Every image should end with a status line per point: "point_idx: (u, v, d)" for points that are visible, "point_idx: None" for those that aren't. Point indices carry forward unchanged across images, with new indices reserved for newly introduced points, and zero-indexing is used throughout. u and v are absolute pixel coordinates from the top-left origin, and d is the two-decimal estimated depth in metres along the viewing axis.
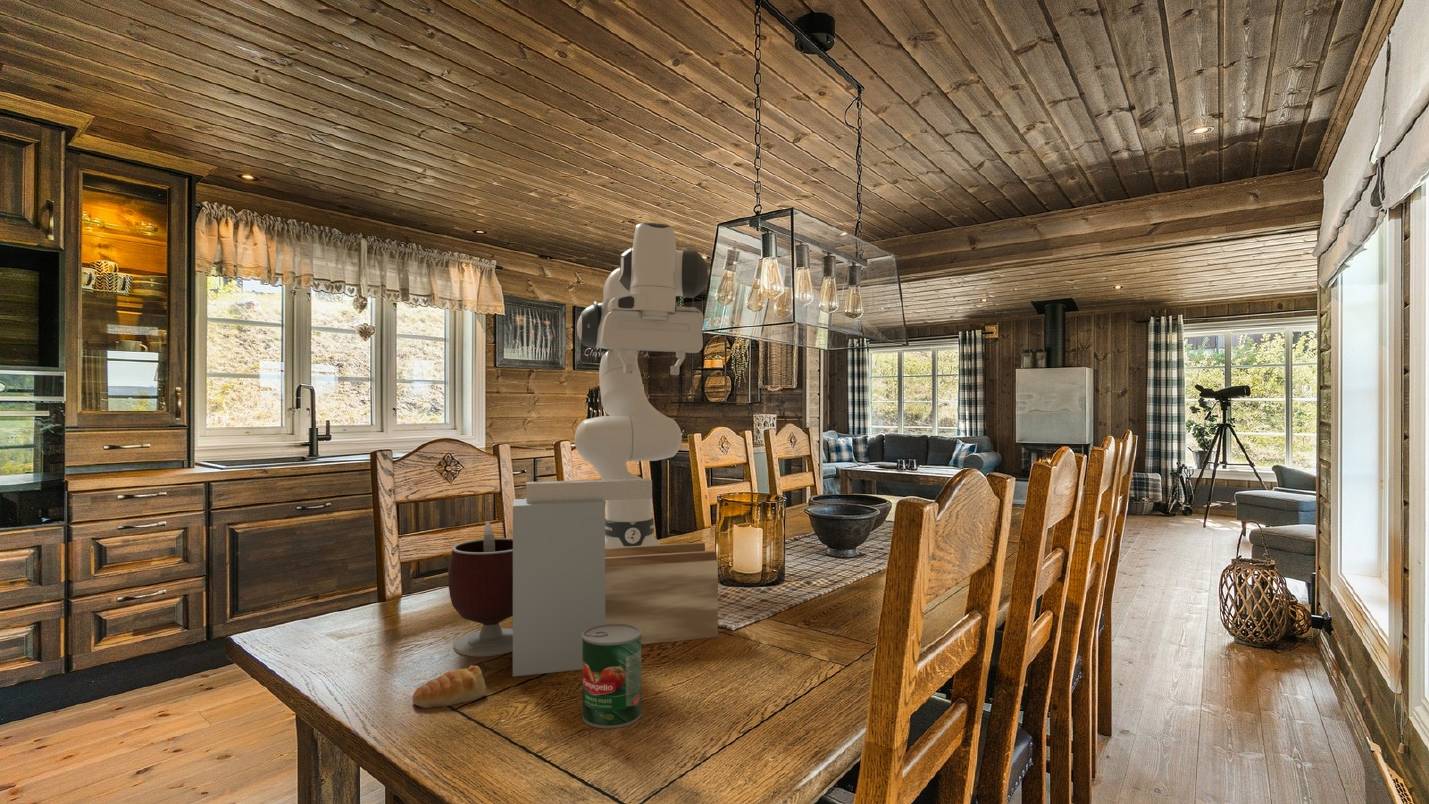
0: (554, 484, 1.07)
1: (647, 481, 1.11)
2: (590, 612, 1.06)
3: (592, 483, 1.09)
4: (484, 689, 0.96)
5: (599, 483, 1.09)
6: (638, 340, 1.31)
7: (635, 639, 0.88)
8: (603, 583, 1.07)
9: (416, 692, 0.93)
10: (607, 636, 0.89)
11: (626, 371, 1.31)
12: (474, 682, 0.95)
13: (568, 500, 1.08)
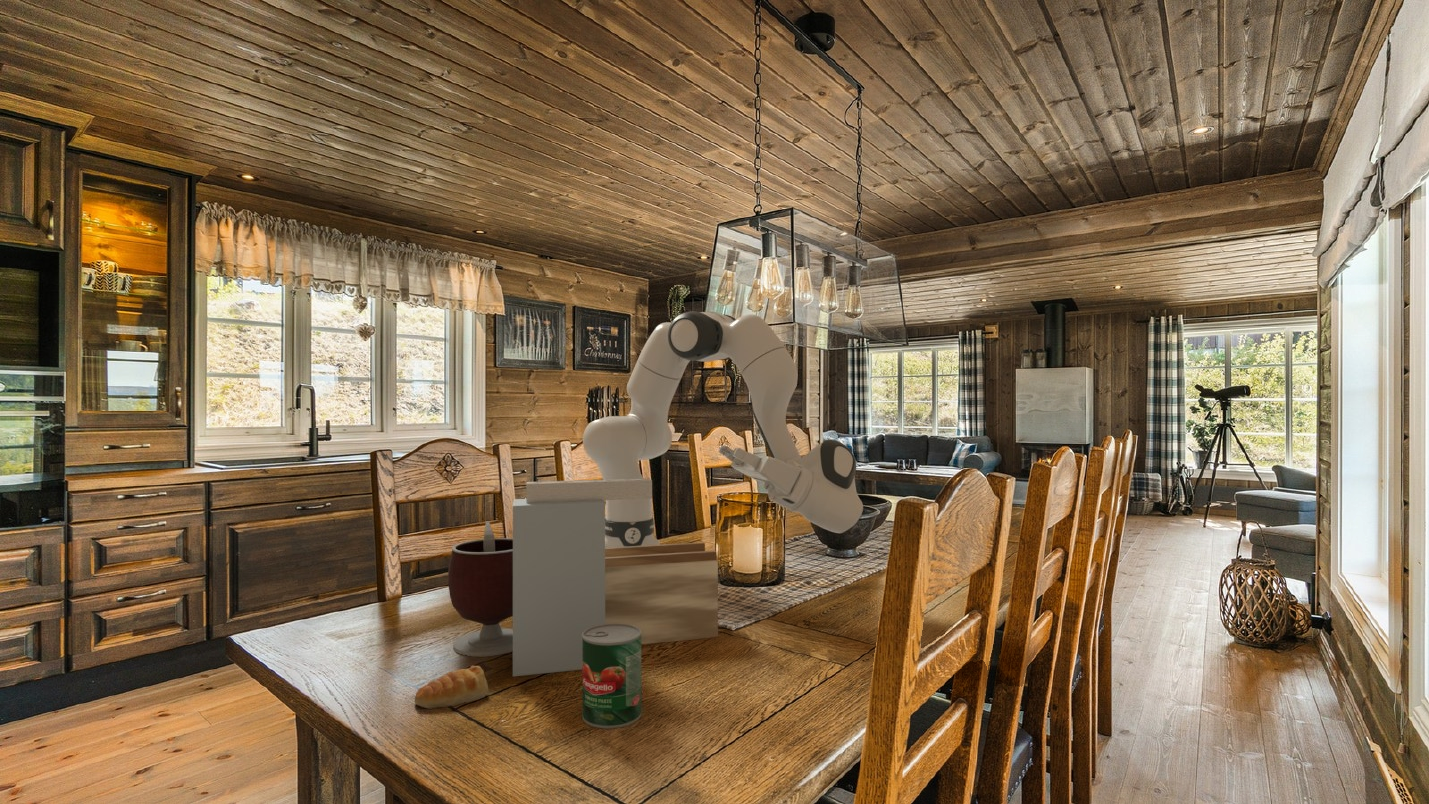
0: (554, 484, 1.07)
1: (647, 481, 1.11)
2: (590, 612, 1.06)
3: (592, 483, 1.09)
4: (486, 689, 0.96)
5: (599, 483, 1.09)
6: (756, 475, 1.26)
7: (635, 639, 0.88)
8: (603, 583, 1.07)
9: (418, 692, 0.93)
10: (607, 636, 0.89)
11: (734, 456, 1.23)
12: (476, 682, 0.95)
13: (568, 500, 1.08)
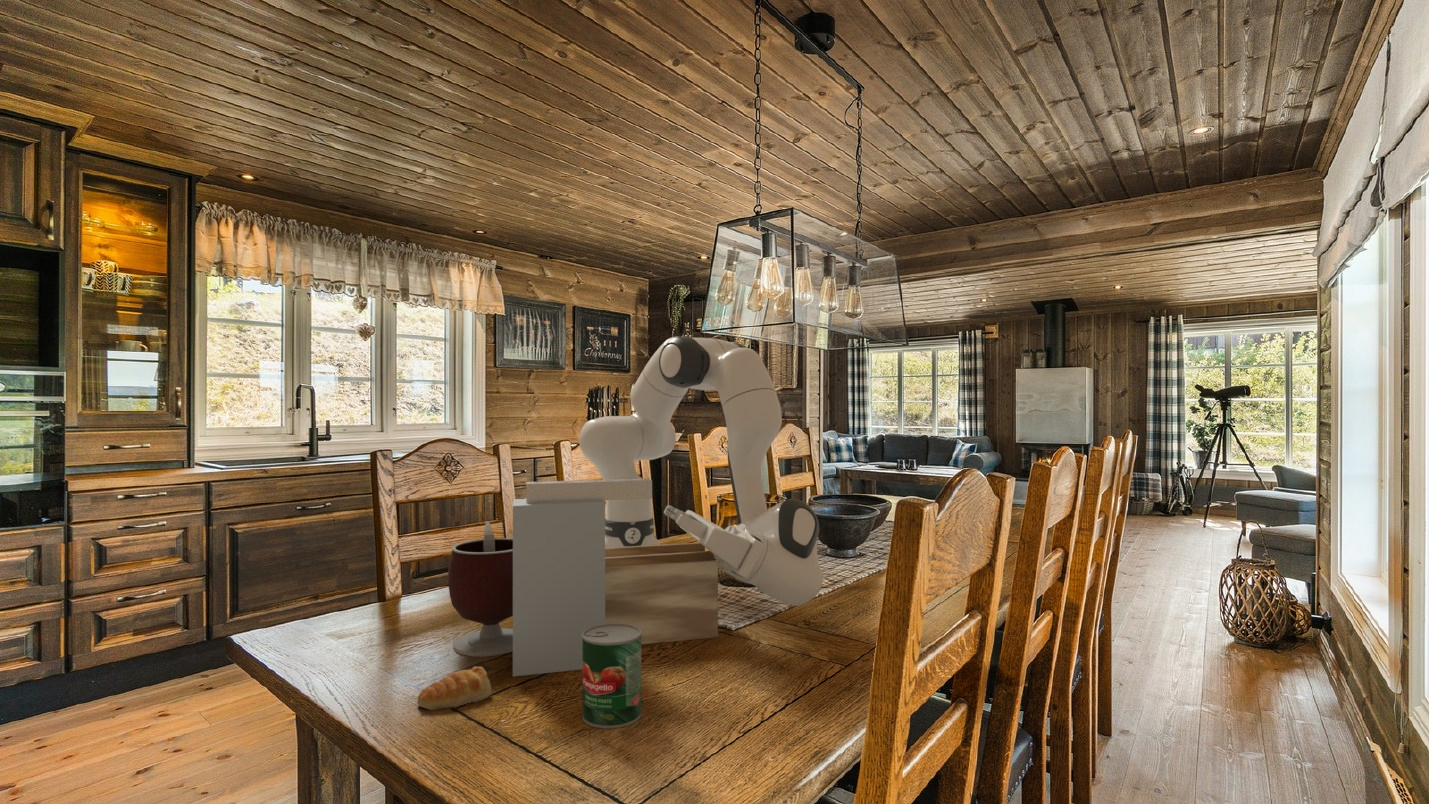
0: (554, 484, 1.07)
1: (647, 481, 1.11)
2: (590, 612, 1.06)
3: (592, 483, 1.09)
4: (489, 690, 0.95)
5: (599, 483, 1.09)
6: None
7: (635, 639, 0.88)
8: (603, 583, 1.07)
9: (421, 694, 0.93)
10: (607, 636, 0.89)
11: None
12: (479, 683, 0.95)
13: (568, 500, 1.08)
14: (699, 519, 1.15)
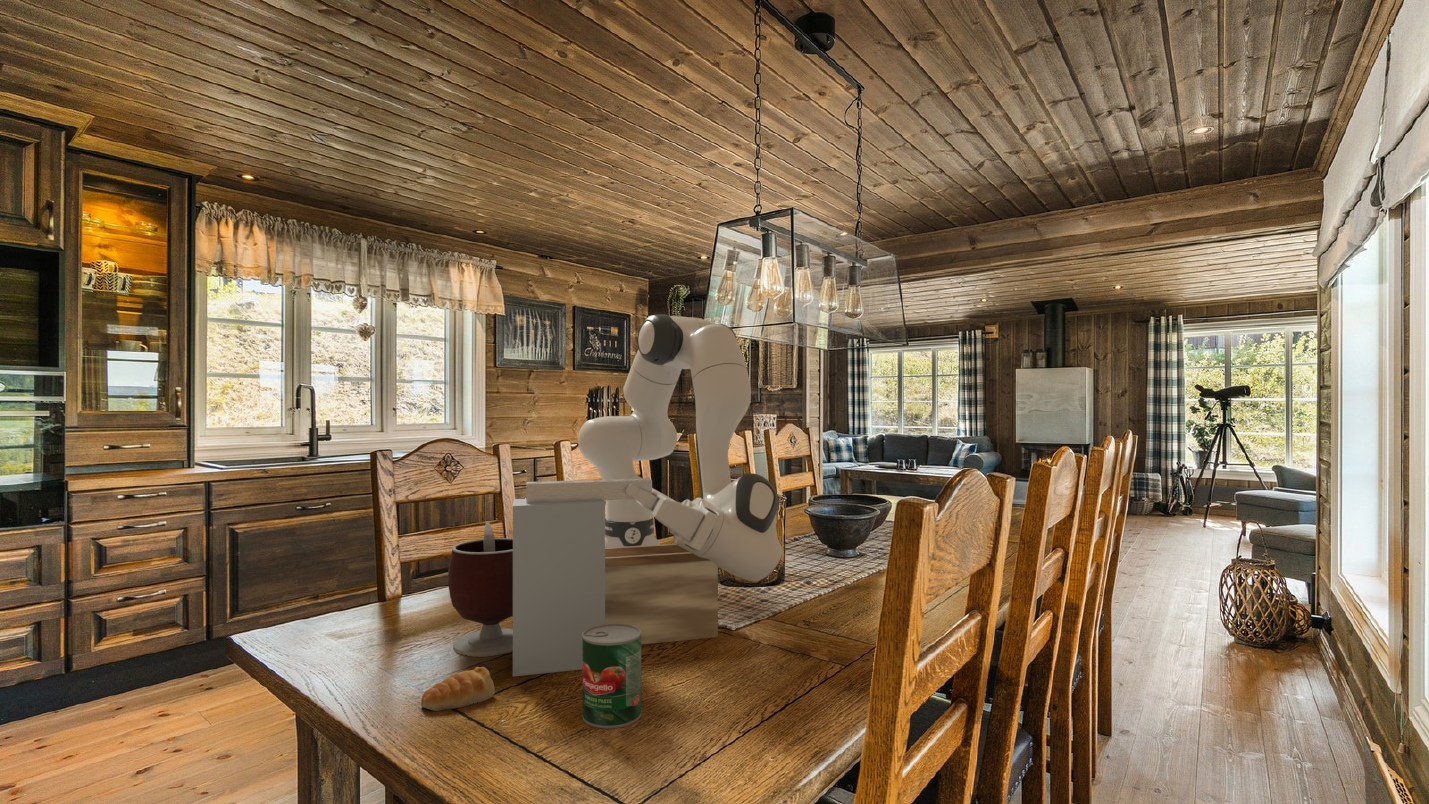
0: (554, 484, 1.07)
1: (647, 481, 1.11)
2: (590, 612, 1.06)
3: (592, 483, 1.09)
4: (493, 690, 0.95)
5: (599, 483, 1.09)
6: None
7: (635, 639, 0.88)
8: (603, 583, 1.07)
9: (425, 695, 0.92)
10: (607, 636, 0.89)
11: (626, 493, 1.09)
12: (483, 683, 0.95)
13: (568, 500, 1.08)
14: (653, 492, 1.13)
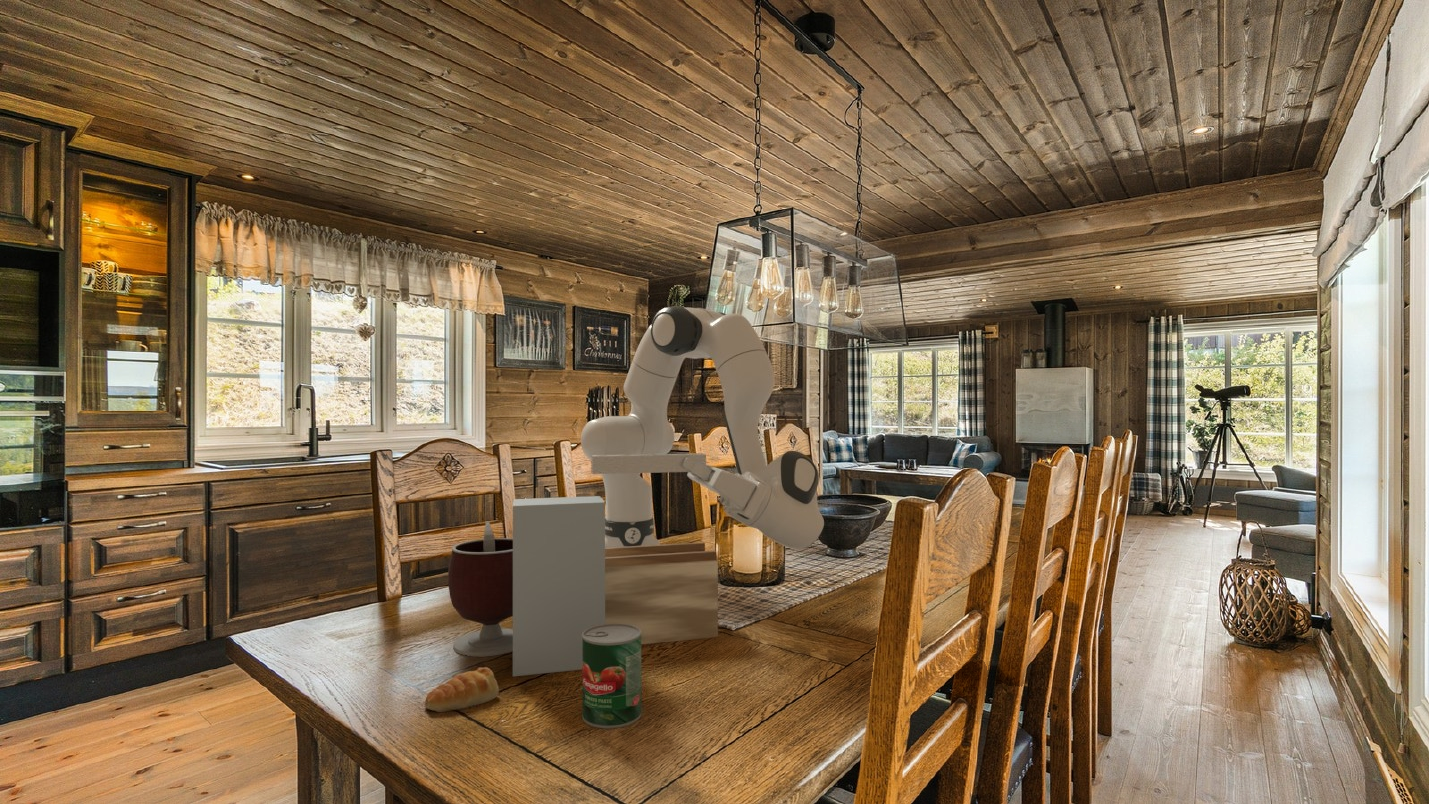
0: (618, 457, 1.16)
1: (701, 455, 1.20)
2: (590, 612, 1.06)
3: (652, 456, 1.18)
4: (497, 690, 0.95)
5: (658, 456, 1.18)
6: None
7: (635, 639, 0.88)
8: (603, 583, 1.07)
9: (429, 696, 0.92)
10: (607, 636, 0.89)
11: (683, 466, 1.18)
12: (487, 684, 0.94)
13: (630, 472, 1.17)
14: (706, 466, 1.22)
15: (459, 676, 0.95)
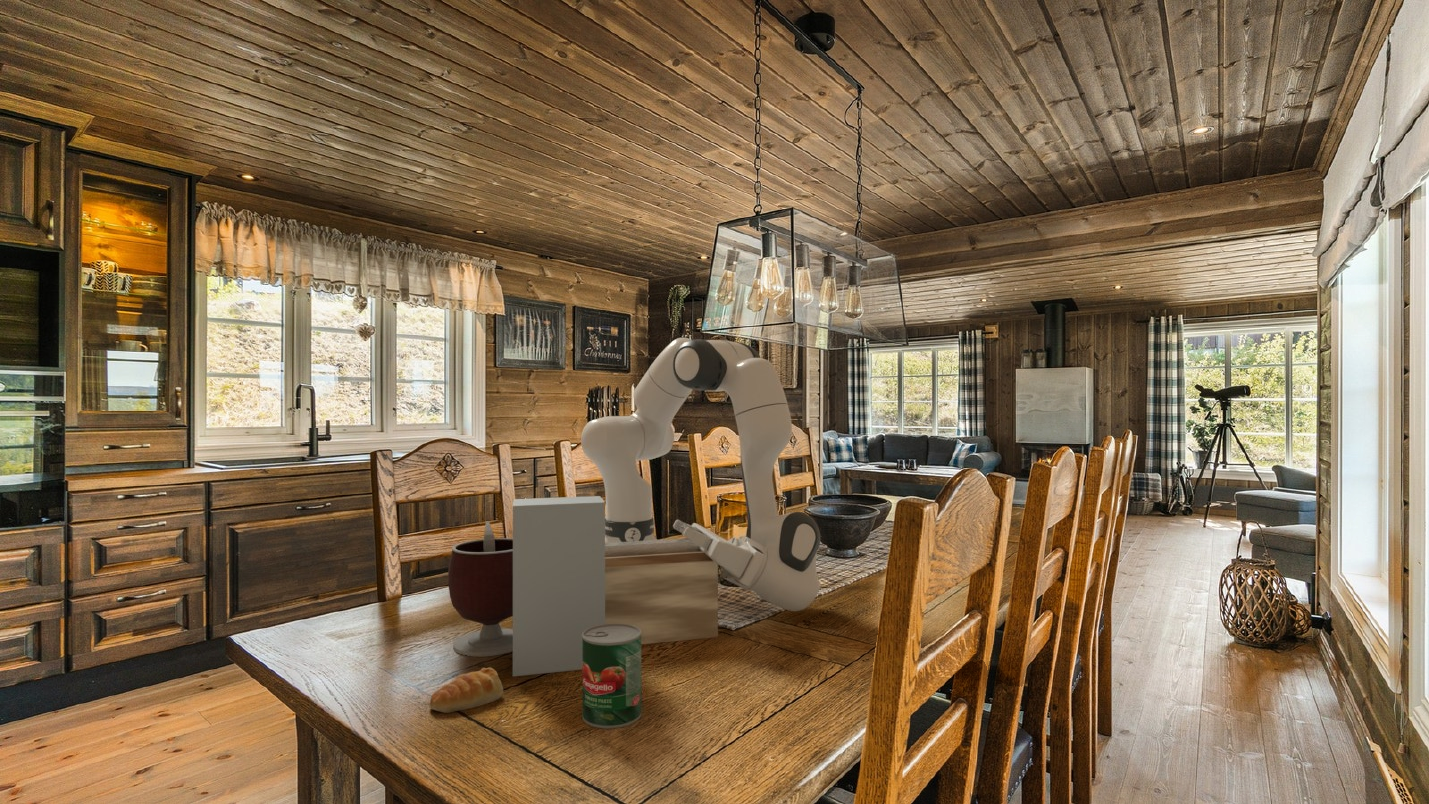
0: (619, 546, 1.20)
1: None
2: (590, 612, 1.06)
3: (652, 544, 1.22)
4: (502, 690, 0.95)
5: (658, 544, 1.22)
6: None
7: (635, 639, 0.88)
8: (603, 583, 1.07)
9: (434, 697, 0.91)
10: (607, 636, 0.89)
11: (684, 536, 1.20)
12: (492, 684, 0.94)
13: None
14: (704, 532, 1.25)
15: (463, 676, 0.95)
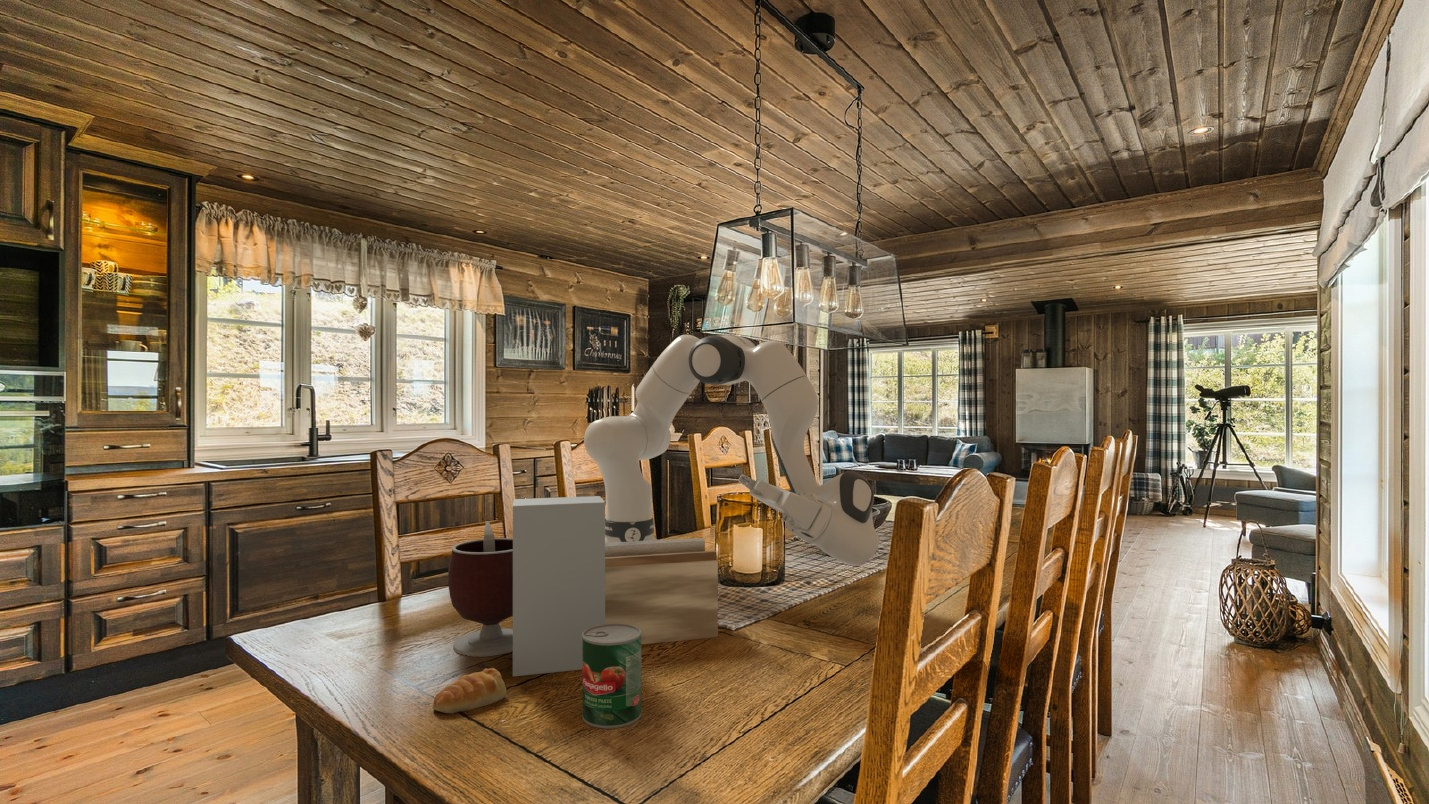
0: (619, 546, 1.20)
1: (700, 541, 1.24)
2: (590, 612, 1.06)
3: (652, 544, 1.22)
4: (505, 690, 0.95)
5: (658, 544, 1.22)
6: (776, 507, 1.27)
7: (635, 639, 0.88)
8: (603, 583, 1.07)
9: (437, 698, 0.91)
10: (607, 636, 0.89)
11: (756, 489, 1.24)
12: (495, 684, 0.94)
13: None
14: (772, 486, 1.30)
15: (466, 677, 0.95)
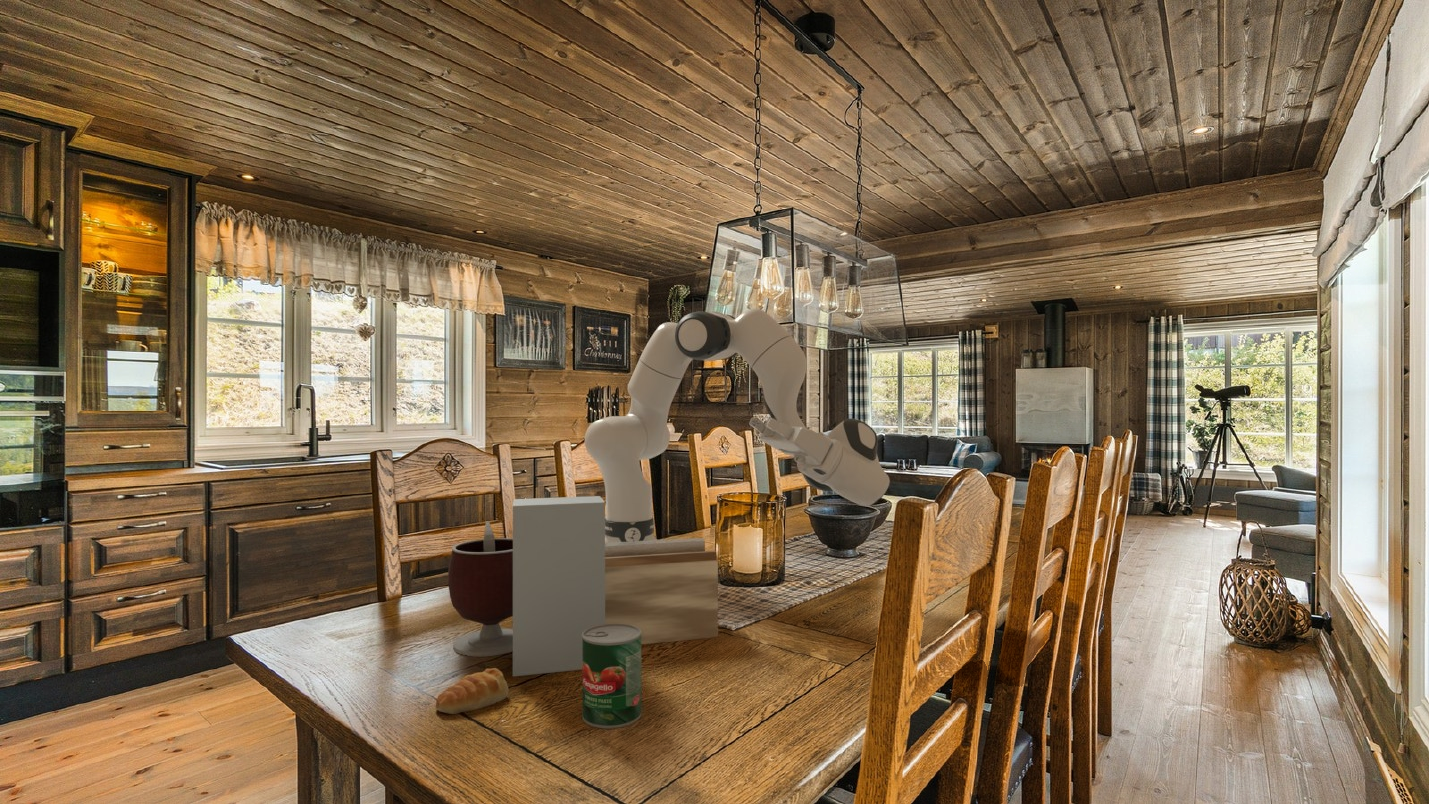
0: (619, 546, 1.20)
1: (700, 541, 1.24)
2: (590, 612, 1.06)
3: (652, 544, 1.22)
4: (507, 690, 0.95)
5: (658, 544, 1.22)
6: (787, 446, 1.28)
7: (635, 639, 0.88)
8: (603, 583, 1.07)
9: (440, 699, 0.91)
10: (607, 636, 0.89)
11: (767, 426, 1.25)
12: (498, 684, 0.94)
13: None
14: None
15: (468, 677, 0.95)
